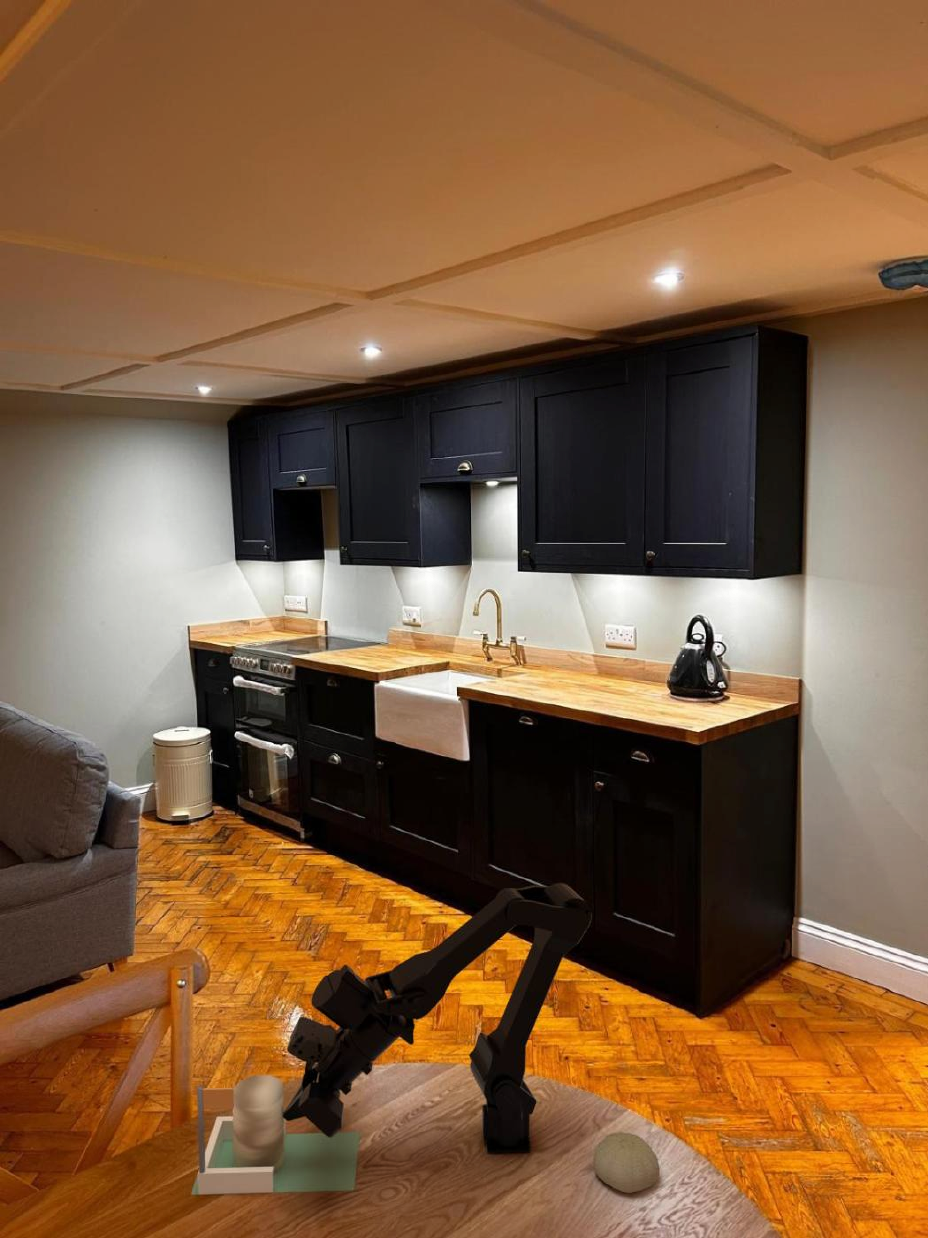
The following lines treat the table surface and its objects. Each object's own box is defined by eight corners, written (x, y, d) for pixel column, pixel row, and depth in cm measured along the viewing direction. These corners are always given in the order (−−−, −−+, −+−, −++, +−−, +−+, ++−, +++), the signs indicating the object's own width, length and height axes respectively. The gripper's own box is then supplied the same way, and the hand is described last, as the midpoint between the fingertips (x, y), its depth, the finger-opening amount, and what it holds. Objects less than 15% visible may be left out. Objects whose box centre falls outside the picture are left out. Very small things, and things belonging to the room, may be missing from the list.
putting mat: (359, 1138, 138) (359, 1132, 138) (354, 1197, 126) (354, 1190, 126) (210, 1142, 137) (210, 1136, 137) (190, 1201, 125) (190, 1194, 125)
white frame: (285, 1134, 137) (284, 1038, 136) (272, 1192, 126) (270, 1088, 124) (217, 1135, 137) (215, 1040, 135) (198, 1194, 125) (195, 1090, 123)
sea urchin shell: (654, 1138, 136) (660, 1127, 130) (657, 1201, 131) (663, 1193, 125) (591, 1134, 137) (594, 1123, 130) (592, 1196, 132) (595, 1188, 126)
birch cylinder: (287, 1145, 135) (286, 1074, 134) (280, 1179, 128) (279, 1105, 127) (239, 1146, 135) (237, 1075, 133) (229, 1181, 128) (227, 1106, 127)
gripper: (329, 972, 139) (255, 1043, 139) (315, 1042, 120) (230, 1123, 121) (381, 1021, 140) (308, 1091, 140) (375, 1097, 121) (291, 1178, 122)
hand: (285, 1117), depth 131 cm, fingers closed, pressing on birch cylinder
